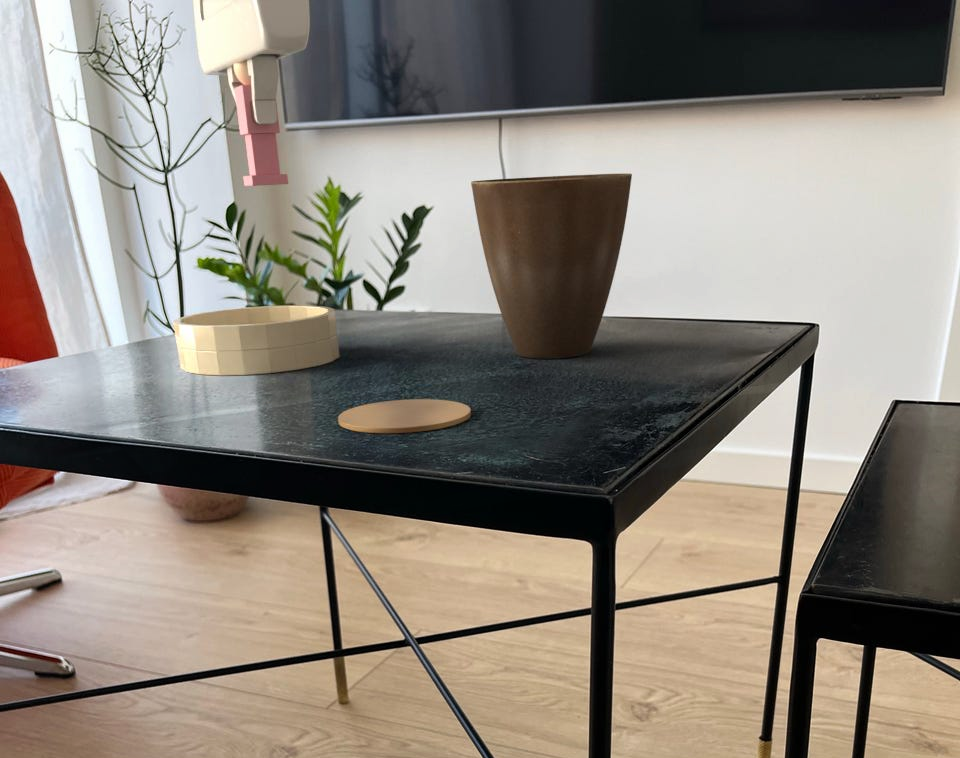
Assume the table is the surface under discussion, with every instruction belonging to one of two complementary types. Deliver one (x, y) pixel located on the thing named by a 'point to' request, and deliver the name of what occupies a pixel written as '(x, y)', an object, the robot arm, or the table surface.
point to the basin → (256, 339)
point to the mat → (404, 416)
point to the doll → (257, 136)
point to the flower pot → (552, 256)
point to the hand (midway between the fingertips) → (258, 126)
